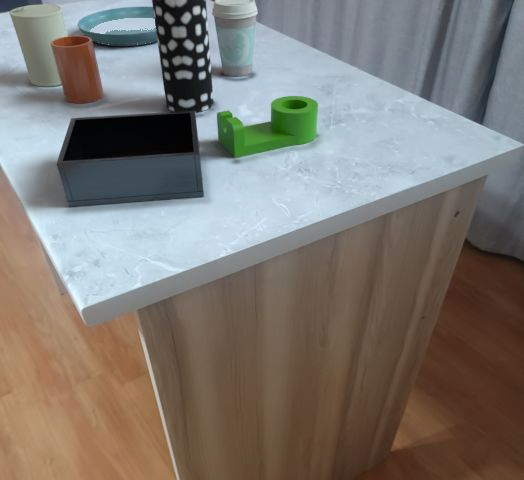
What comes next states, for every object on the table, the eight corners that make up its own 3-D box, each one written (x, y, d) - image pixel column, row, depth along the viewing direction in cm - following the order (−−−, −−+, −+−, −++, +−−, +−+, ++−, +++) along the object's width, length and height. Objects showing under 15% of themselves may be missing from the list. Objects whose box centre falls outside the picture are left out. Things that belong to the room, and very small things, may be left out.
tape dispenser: (302, 122, 85) (303, 93, 81) (324, 139, 80) (326, 108, 77) (217, 140, 80) (215, 109, 77) (235, 158, 76) (234, 126, 72)
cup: (63, 104, 92) (47, 48, 85) (68, 91, 96) (53, 36, 90) (102, 102, 92) (89, 45, 86) (105, 89, 97) (93, 34, 91)
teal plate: (79, 26, 129) (76, 10, 127) (175, 18, 133) (174, 3, 131) (82, 54, 113) (78, 36, 110) (191, 44, 117) (190, 27, 114)
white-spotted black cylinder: (156, 104, 91) (136, -35, 77) (193, 92, 95) (179, -43, 81) (186, 117, 87) (170, -28, 73) (223, 103, 91) (214, -37, 77)
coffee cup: (208, 75, 102) (202, 3, 93) (229, 62, 107) (226, -7, 99) (245, 81, 99) (243, 8, 91) (266, 68, 104) (265, -2, 96)
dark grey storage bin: (69, 207, 66) (55, 163, 62) (81, 157, 77) (71, 117, 72) (204, 196, 68) (199, 153, 64) (199, 149, 78) (195, 110, 74)
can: (33, 72, 104) (12, 2, 96) (80, 69, 105) (63, -1, 97) (27, 88, 98) (3, 14, 89) (77, 84, 99) (58, 11, 90)
